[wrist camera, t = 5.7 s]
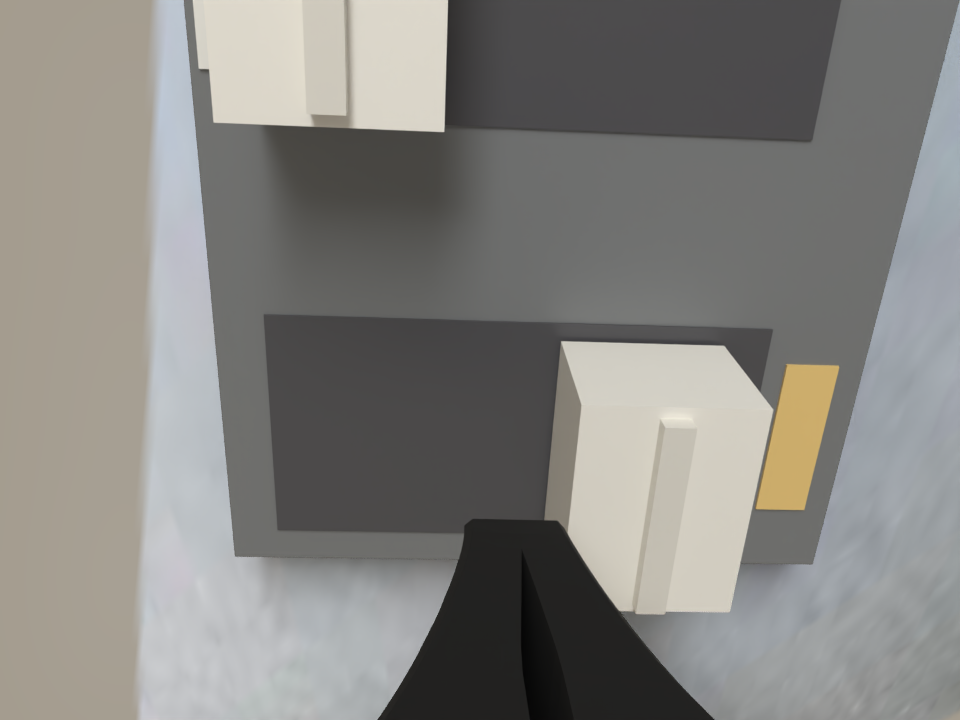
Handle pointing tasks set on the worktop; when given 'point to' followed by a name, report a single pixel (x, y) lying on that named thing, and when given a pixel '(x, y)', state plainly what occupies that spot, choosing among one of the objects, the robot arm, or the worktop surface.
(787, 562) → the switch plate
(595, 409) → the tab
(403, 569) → the worktop surface
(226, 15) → the middle tab
